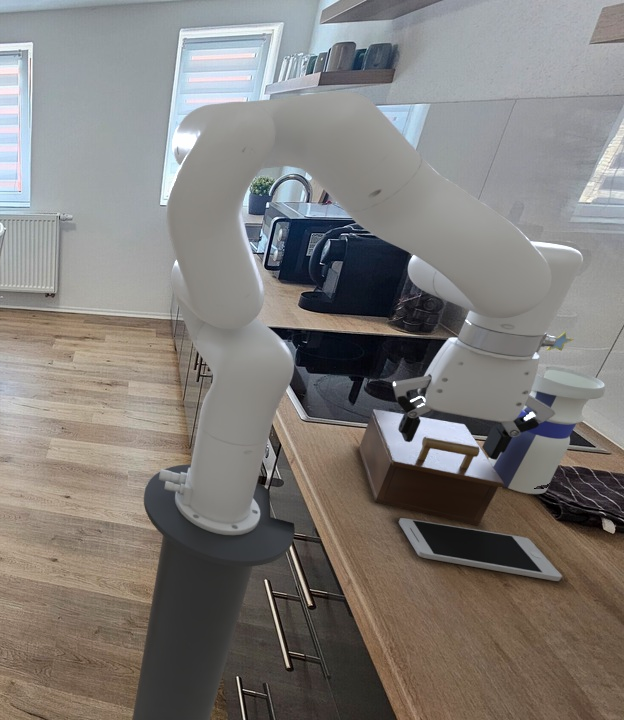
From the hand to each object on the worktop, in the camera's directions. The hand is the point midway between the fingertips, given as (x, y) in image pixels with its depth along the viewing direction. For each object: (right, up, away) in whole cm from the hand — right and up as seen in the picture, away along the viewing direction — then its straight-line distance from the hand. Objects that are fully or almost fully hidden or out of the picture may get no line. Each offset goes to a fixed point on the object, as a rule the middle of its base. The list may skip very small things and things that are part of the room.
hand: (446, 445), depth 73 cm
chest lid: (+3, -1, +6) cm, 7 cm away
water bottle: (+21, -7, +10) cm, 24 cm away
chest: (+4, -8, +10) cm, 13 cm away
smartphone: (+1, -14, -3) cm, 15 cm away
